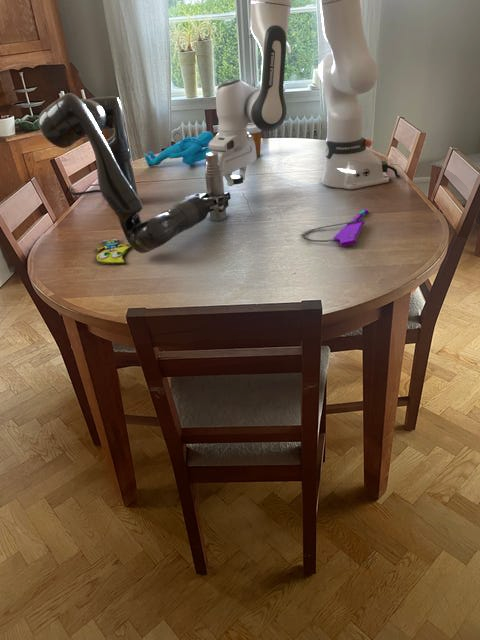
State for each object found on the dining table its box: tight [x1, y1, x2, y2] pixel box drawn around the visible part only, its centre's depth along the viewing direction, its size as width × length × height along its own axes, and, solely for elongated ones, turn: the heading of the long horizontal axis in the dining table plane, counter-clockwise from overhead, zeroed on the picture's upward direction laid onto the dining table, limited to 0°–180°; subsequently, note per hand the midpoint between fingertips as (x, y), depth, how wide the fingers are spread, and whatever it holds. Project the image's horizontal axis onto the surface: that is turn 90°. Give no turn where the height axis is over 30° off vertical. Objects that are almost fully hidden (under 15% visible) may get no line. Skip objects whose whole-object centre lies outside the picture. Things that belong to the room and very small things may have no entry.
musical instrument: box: [301, 208, 369, 248], centre depth 130 cm, size 24×2×20 cm
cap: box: [231, 174, 244, 185], centre depth 155 cm, size 5×5×2 cm
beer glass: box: [247, 123, 263, 158], centre depth 199 cm, size 10×10×12 cm
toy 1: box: [95, 238, 133, 265], centre depth 129 cm, size 10×1×15 cm
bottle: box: [204, 152, 228, 222], centre depth 140 cm, size 5×5×19 cm
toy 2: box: [144, 131, 215, 168], centre depth 197 cm, size 17×11×30 cm
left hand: (221, 194), depth 144 cm, fingers closed on bottle, 5 cm apart
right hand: (236, 183), depth 155 cm, fingers closed on cap, 4 cm apart
